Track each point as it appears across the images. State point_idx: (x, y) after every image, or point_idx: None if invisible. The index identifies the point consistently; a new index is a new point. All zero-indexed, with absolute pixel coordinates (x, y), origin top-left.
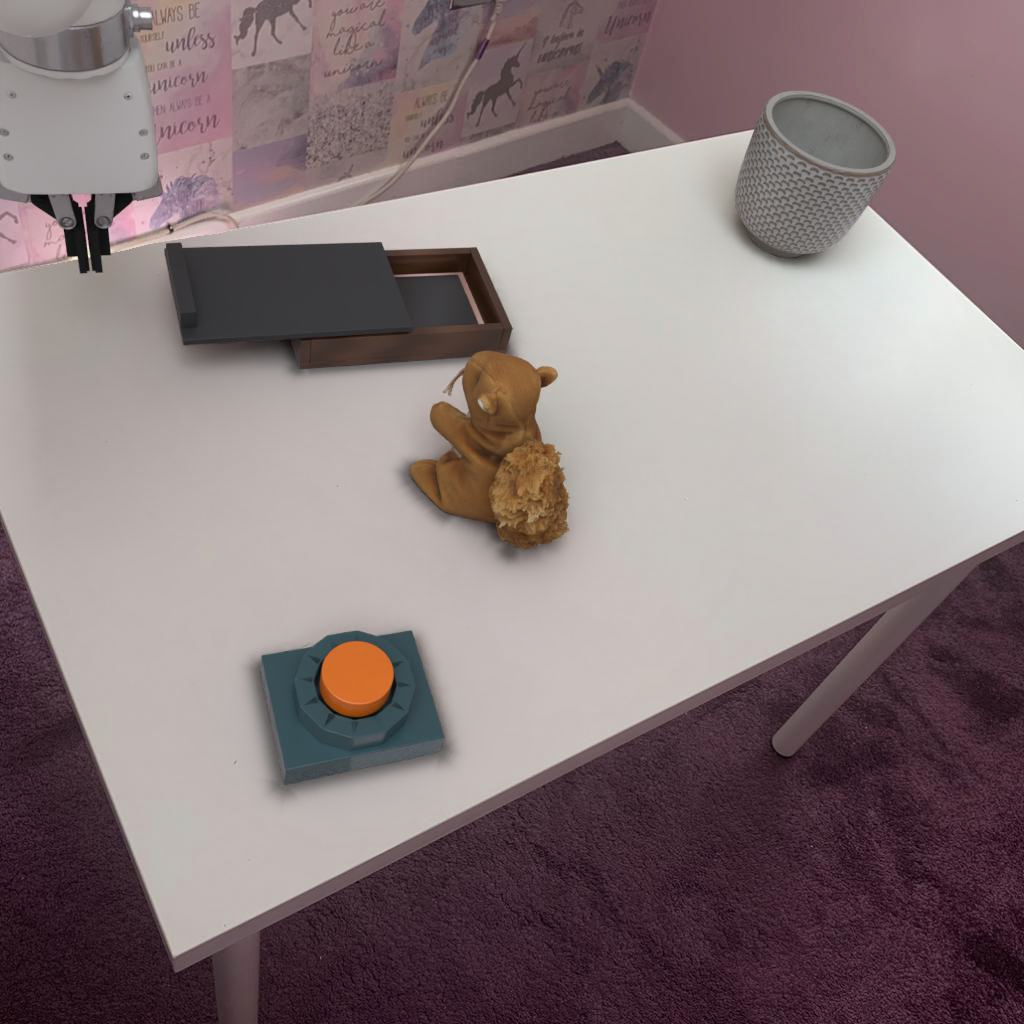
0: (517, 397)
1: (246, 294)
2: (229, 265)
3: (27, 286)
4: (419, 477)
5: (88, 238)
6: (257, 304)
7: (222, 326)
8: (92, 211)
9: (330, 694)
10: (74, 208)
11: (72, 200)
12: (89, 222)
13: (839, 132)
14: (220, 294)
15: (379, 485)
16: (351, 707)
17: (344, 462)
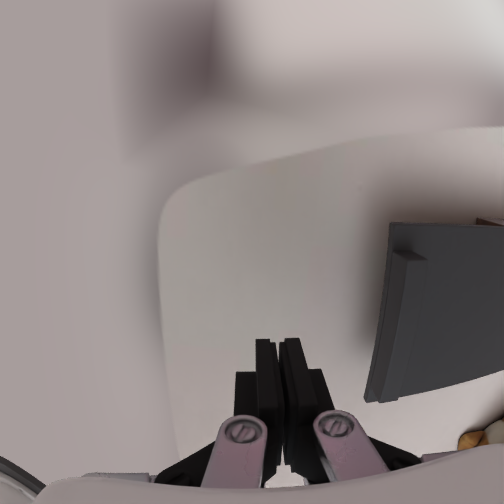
0: None
1: (459, 325)
2: (462, 269)
3: (180, 201)
4: (461, 448)
5: (283, 437)
6: (462, 341)
7: (415, 379)
8: (306, 472)
9: None
10: (266, 471)
11: (265, 455)
12: (293, 451)
13: None
14: (434, 328)
15: (439, 446)
16: None
17: (430, 434)
